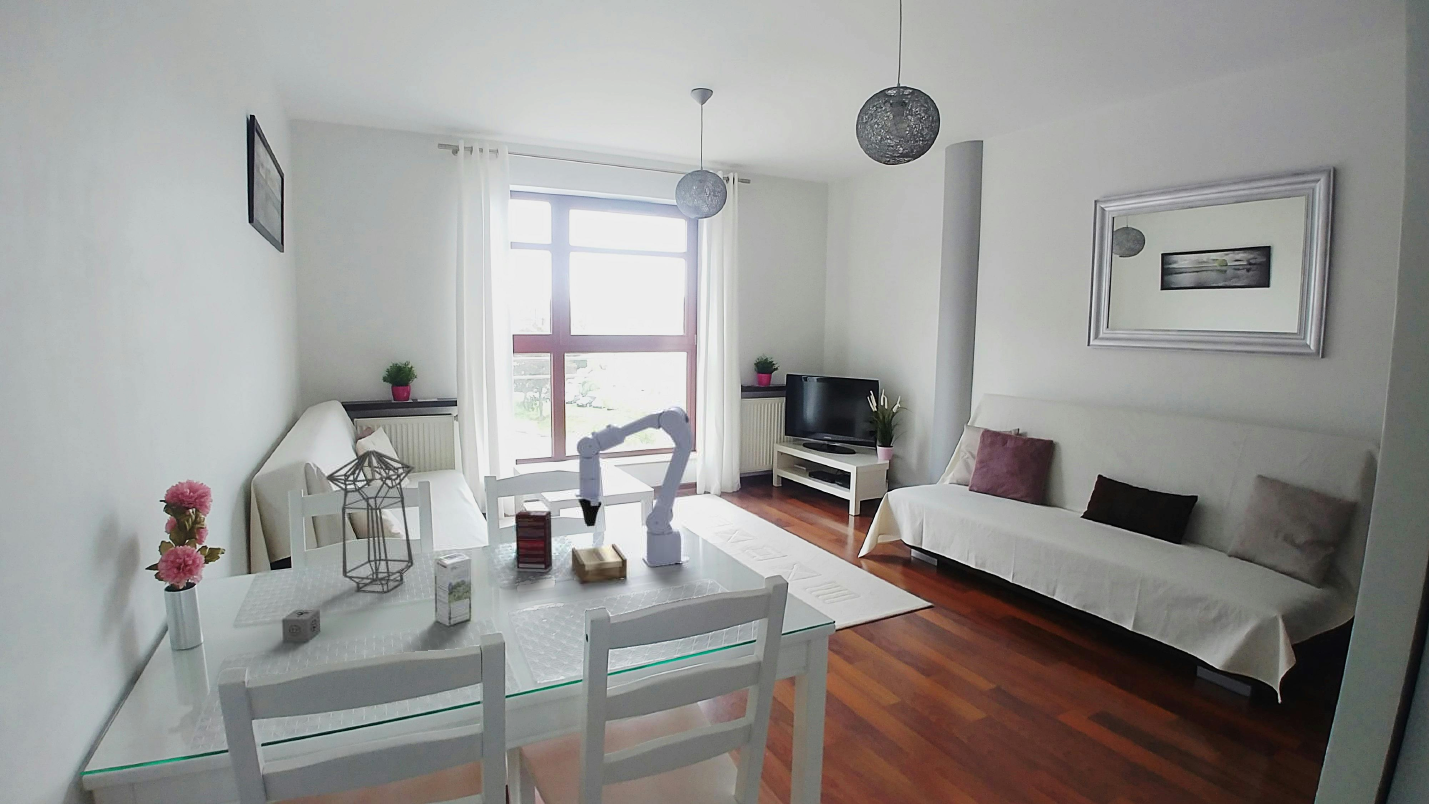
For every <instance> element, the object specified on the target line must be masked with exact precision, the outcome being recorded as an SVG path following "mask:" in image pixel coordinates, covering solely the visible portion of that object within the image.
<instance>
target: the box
mask: <svg viewBox="0 0 1429 804" xmlns="http://www.w3.org/2000/svg"><path fill="white" fill-rule="evenodd" d="M611 547H612V548H613V549H614V550H615V552H616V553H617V554H618V556H619V557H620V558H621V560H622V567H613V568H604V569H595V570H586V571H585V570H584V563H583V561H582V559H581V558H580V556H579V554H578V552H577V551H576V550H577V549H576V547H571V567H572V569H573V571H574V573H575V575H576V576H577V578H578V580H579V582H580V584H581V585H583V584H590V582H591V583H598V582H597V581H600V582H606V581H605V580H608V581H615V580H614V579H617V580H622V579H621V578H625V579H627V578H628V577H627V576H628V575H627V574H628V572H627V571H628V564H627V563H628V559H627V557H625V555H624V554H623V553H622V552H621V550H620V549H619V548H618V546H617V545H616V544H615V543H612V544H611Z"/></svg>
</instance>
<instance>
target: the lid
mask: <svg viewBox="0 0 1429 804" xmlns="http://www.w3.org/2000/svg"><path fill="white" fill-rule="evenodd" d="M576 551H577V552H578V554H579V556H580V558H581V559H582V561H583V563H584V570H585V571H586V570H595V569H604V568H613V567H622V560H621V558H620V557H619V556H618V554H617V553H616V552H615V550H614V549H613V548H612V545H609V546H601V547H600V546H599V547H597V546H596V547H587V548H580V549H579V548H578V549H576Z"/></svg>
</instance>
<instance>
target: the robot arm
mask: <svg viewBox="0 0 1429 804" xmlns="http://www.w3.org/2000/svg"><path fill="white" fill-rule="evenodd" d="M690 420H691V419H690V417H689V415H687V413H686V411H685V410H684V409H683V408H682V407H679V406H671V407H669V408H668V409H666V408H665V409H661V410H657V411H654V412H650V413H649V414H646V415H645V416H642V417H640V418H637V419H636V420H633V421H632V422H631V421H630V422H629V423H627V424H625V425H623V426H621V425H619V424H616V423H615V424H612V423H610V424H607V425H606V426H605V428H603V429H601V430H598V431H596V430H595V431H592V432H590V434H588V435H586V436H584V437H583V438H580V439H579V441H578V442H577V444H576V450H577V453H578V454H579V462H578V465H579V467H578V470H579V471H578V474H579V477H578V478H579V485H578V486H579V489H578V490H579V492H576V493H575V494H574V495H575V497H576V498H579V499H577V501H578V503H579V505H580V507H581V510H582V515H583V520H584V523H585V525H586V526H587V527H594V526H596V521H597V516H598V512H599V510H600V508H601V506H602V501H599V500H600V497H601V495H602V494H601V493H602V492H601V485H600V484H601V483H600V482H601V478H600V477H601V476H600V474H601V472H600V471H601V462H600V452H605V451H607V450H610V449H612V448H615V447H617V446H619V445H621V444H624V442H625V439H626V437H629V436H632V435H635V434H636V433H640V432H642V431H645V430H647V429H650V428H651V429H655V430H660V429H662V430H663V431H664V433H666V434H667V435H669V437H670V438H671V440H672V442H673V443H674V445H675V446H674V449H673V451H672V452H673V453H672V456H671V458H670V461H669V464H668V467H667V471H666V472H665V476H664V479H663V483H662V485H661V488H660V490H659V494H658V497H657V500H656V501H655V504H654V506H653V508H652V510H651V512H650V513H649V514H648V515H647V516H646V519H645V526H646V556H642V560H643V561H644V562H645V563H646V565H648V567H651V568H652V567H661V565H662V566H669V564H671V565H676V564H675V563H680V562H683V561H682V538H681V537H682V536H681V532H680V531H679V530H678V529H677V528H676V529H674V528H673V527H672V525H671V524H670V523H671V522H672V520H673V517H674V512H673V507H674V504H675V499H676V496H677V493H678V491H679V488H680V486H681V483H682V482H681V481H682V479H683V477H684V473H685V471H686V467H687V465H688V462H689V459H690V456H691V453H692V450H693V447H694V444H695V439H694V434H693V429H692V426H691V421H690ZM680 564H681V563H680Z"/></svg>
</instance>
